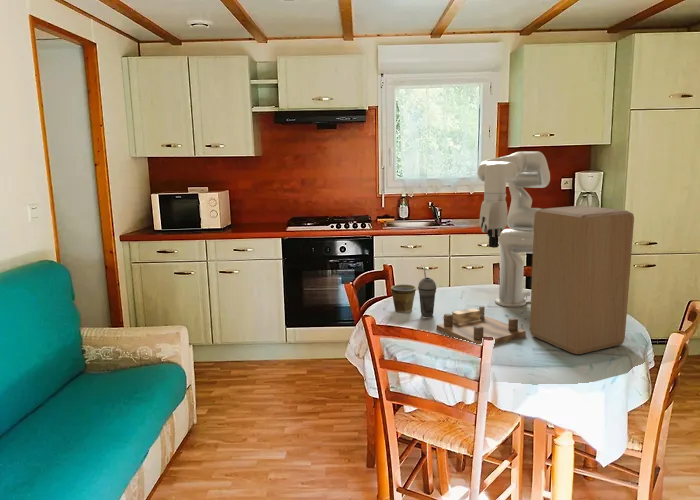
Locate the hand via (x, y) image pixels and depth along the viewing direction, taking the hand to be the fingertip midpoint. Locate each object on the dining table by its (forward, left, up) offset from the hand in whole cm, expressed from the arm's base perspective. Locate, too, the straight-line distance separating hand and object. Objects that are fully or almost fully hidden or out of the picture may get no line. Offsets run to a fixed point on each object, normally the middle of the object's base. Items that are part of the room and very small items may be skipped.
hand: (493, 246), depth 201 cm
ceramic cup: (+20, -31, -29) cm, 47 cm away
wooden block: (-10, +30, -29) cm, 43 cm away
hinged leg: (+11, -2, -27) cm, 29 cm away
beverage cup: (+16, -19, -29) cm, 38 cm away
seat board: (+12, +7, -29) cm, 32 cm away
